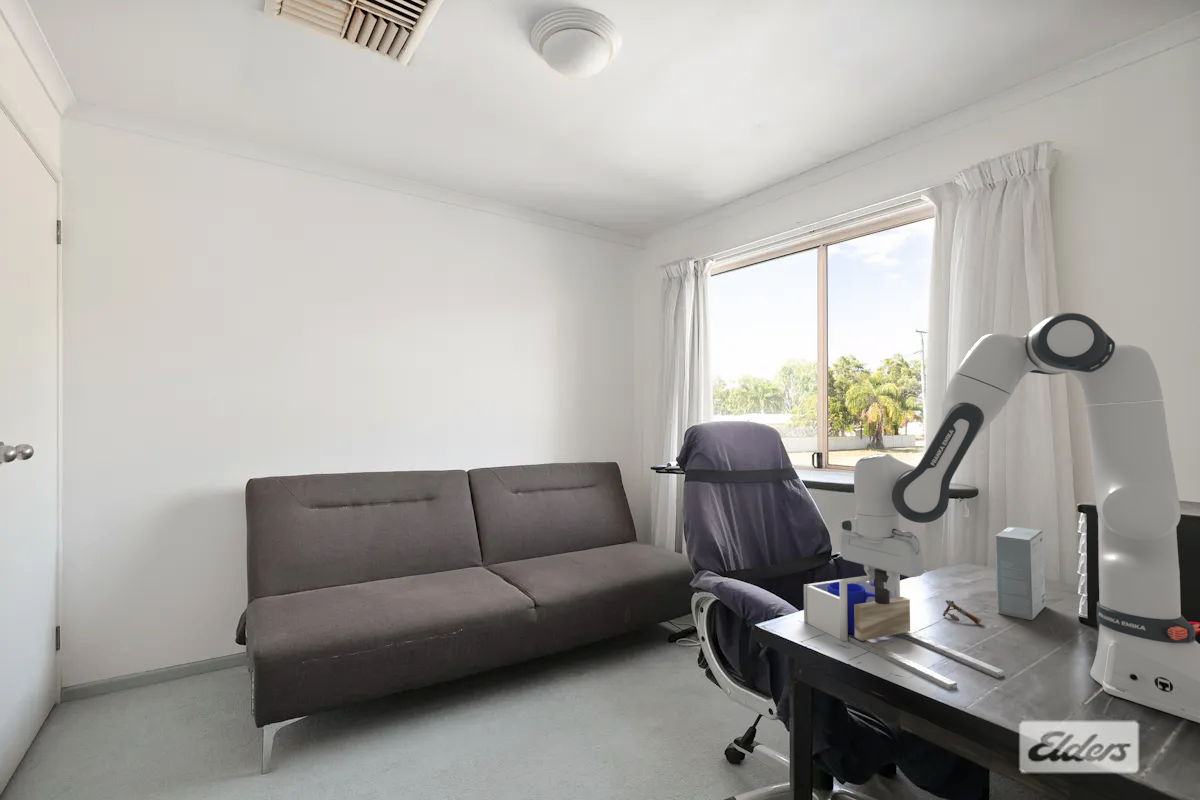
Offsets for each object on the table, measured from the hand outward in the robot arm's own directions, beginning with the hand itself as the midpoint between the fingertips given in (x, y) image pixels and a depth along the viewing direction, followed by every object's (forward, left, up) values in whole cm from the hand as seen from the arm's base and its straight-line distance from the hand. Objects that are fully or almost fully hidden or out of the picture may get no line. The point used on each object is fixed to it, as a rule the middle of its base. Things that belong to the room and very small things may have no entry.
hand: (881, 587), depth 128 cm
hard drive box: (+1, -49, -12) cm, 50 cm away
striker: (0, 0, -10) cm, 10 cm away
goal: (+9, 0, -12) cm, 15 cm away
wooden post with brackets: (+1, -27, -12) cm, 30 cm away
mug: (+6, +2, -12) cm, 13 cm away
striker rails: (-10, 0, -12) cm, 15 cm away
